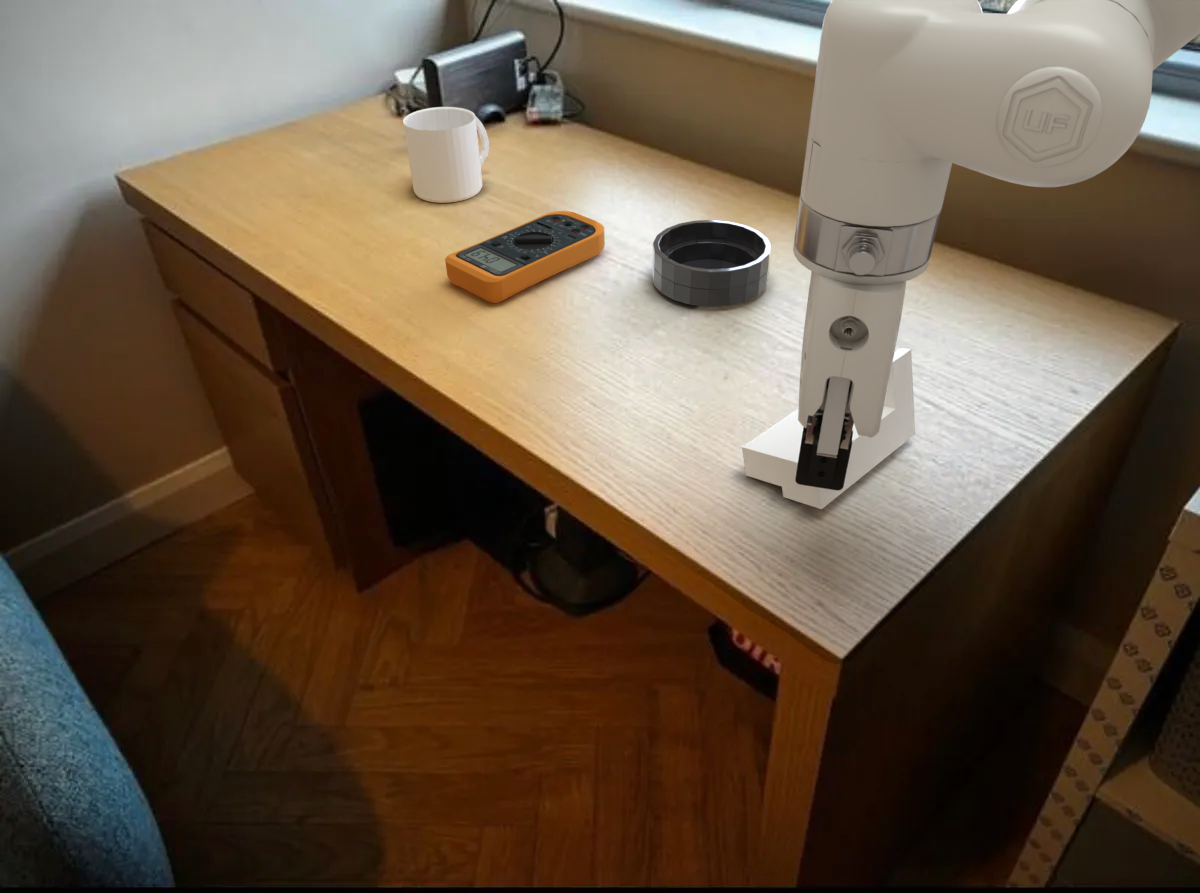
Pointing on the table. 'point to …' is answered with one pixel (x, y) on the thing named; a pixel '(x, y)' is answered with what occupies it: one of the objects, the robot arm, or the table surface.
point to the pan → (711, 263)
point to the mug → (445, 153)
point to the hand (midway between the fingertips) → (819, 479)
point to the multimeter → (525, 255)
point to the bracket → (781, 446)
